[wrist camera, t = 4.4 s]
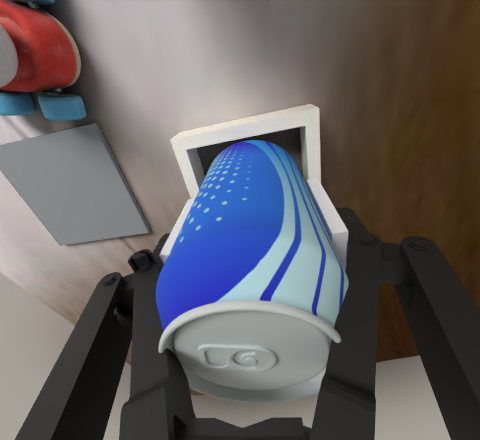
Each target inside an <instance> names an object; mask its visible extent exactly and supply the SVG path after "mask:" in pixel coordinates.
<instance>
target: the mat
mask: <svg viewBox="0 0 480 440" xmlns="http://www.w3.org/2000/svg"><path fill="white" fill-rule="evenodd" d="M0 170H1V172H2V173H3V174H4V175H5V177H6V178H7V179H8V180H9V182H10V183H11V184H12V186H13V187H14V188H15V189H16V191H17V192H18V193H19V194H20V196H21V197H22V198H23V200H24V201H25V202H26V203H27V205H28V206H29V207H30V208H31V210H32V211H33V212H34V214H35V215H36V216H37V217H38V219H39V220H40V221H41V222H42V224H43V225H44V226H45V228H46V229H47V230H48V231H49V233H50V234H51V235H52V236H53V238H54V239H55V240H56V242H57V243H58V244H59V245H60V246H61V245H68V244H75V243H82V242H89V241H96V240H103V239H110V238H116V237H123V236H130V235H137V234H144V233H149V232H150V230H151V229H150V227H149V225H148V223H147V221H146V219H145V217H144V215H143V213H142V211H141V209H140V207H139V205H138V203H137V201H136V199H135V197H134V195H133V193H132V191H131V189H130V187H129V185H128V183H127V181H126V179H125V177H124V175H123V173H122V171H121V169H120V167H119V165H118V163H117V161H116V159H115V157H114V155H113V153H112V151H111V149H110V147H109V145H108V143H107V141H106V139H105V137H104V135H103V133H102V131H101V129H100V127H99V125H98V123H97V122H96V123H92V124H88V125H84V126H80V127H75V128H71V129H67V130H63V131H59V132H54V133H50V134H46V135H42V136H38V137H33V138H29V139H25V140H21V141H16V142H12V143H8V144H4V145H0Z"/></svg>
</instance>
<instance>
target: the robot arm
mask: <svg viewBox="0 0 480 440" xmlns="http://www.w3.org/2000/svg"><path fill="white" fill-rule="evenodd" d="M307 188H308V190H309V192H310V195H311V197H312V199H313V201H314V203H315V206H316V208H317V210H318V212H319V215H320V217H321V219H322V221H323V223H324V226H325V228H326V230H327V232H328V235H329V237H330V239H331V241H332V243H333V246H334V248H335V250H336V252H337V255H338V257H339V259H340V261H341V263H342V266H343V268H344V270H345V272H346V275H347V277H348V281H349V285H348V289H347V291H346V294H345V297H344V300H343V303H342V305H341V308H340V311H339V313H338V316H337V318H336V321H335V325H334V329H335V330H336V331H337V332H338V334H339V335H340V338H341V342H339V343H336V342H334V341H333V339H332V340H331V345H330V350H329V356H328V361H327V366H326V370H325V374H324V376H323V378H322V381H321V386H320V390H319V395H318V400H317V405H316V410H315V415H314V420H313V425H312V429H311V428H309V427H306V426H303V423H302V418H270V419H267V420H265V421H262V422H259V423H256V424H253V425H250V426H247V427H244V428H240V427H237V426H234V425H232V424H229V423H226V422H224V421H221V420H218V419H215V418H196V417H195V414H194V411H193V406H192V401H191V395H190V389H189V383H188V379H187V376H186V374H185V372H184V369H183V367H182V365H181V363H180V361H179V360H178V358H177V357H176V355H175V354H174V353H173V351H171V350H170V349H168V348H166V349H165V350H164V352H162V353H159V342H160V339H161V336H162V334H163V332H164V331H163V327H162V324H161V320H160V316H159V312H158V308H157V304H156V286H157V281H158V278H159V275H160V272H161V270H162V268H163V266H164V264H165V262H166V259H167V257H168V255H169V253H170V251H171V249H172V247H173V245H174V242H175V240H176V238H177V236H178V234H179V232H180V230H181V228H182V226H183V223H184V221H185V219H186V217H187V215H188V213H189V211H190V209H191V206H192V204H193V202H194V200H195V199H189V200H188V201H187V203H186V205H185V207H184V209H183V211H182V212H181V214H180V216H179V218H178V220H177V222H176V224H175V226H174V228H173V230H172V232H171V233H167V234H165V235H164V236H163V237H162V238H161V239H160V241H159V243H158V245H157V246H156V249H155V250H154V251H153V253H151V251H150V250H148V249H145V250H140V251H138V252H136V253H135V254H133V255H132V256H131V257H130V258H129V260H128V263H129V264H130V266H131V268H132V269H133V271H134V273H133V274H130V275H127V276H125V277H122V275H121V274H120V273H118V272H114V273H111V274H108V275H107V276H105V277H104V278H102V279H101V280H100V282H99V283H98V284H97V286H96V288H95V290H94V292H93V294H92V296H91V298H90V299H89V301H88V303H87V305H86V307H85V309H84V311H83V313H82V315H81V316H80V318H79V320H78V322H77V324H76V326H75V328H74V330H73V332H72V333H71V335H70V337H69V339H68V341H67V343H66V345H65V346H64V348H63V350H62V352H61V354H60V356H59V358H58V360H57V362H56V363H55V365H54V367H53V369H52V371H51V373H50V375H49V376H48V378H47V380H46V382H45V384H44V386H43V388H42V390H41V391H40V394H39V396H38V397H37V399H36V401H35V403H34V405H33V407H32V408H31V410H30V412H29V414H28V416H27V418H26V420H25V422H24V423H23V425H22V427H21V429H20V431H19V433H18V435H17V437H16V439H15V440H103V437H104V434H105V430H106V427H107V423H108V420H109V416H110V412H111V409H112V406H113V402H114V399H115V395H116V392H117V388H118V385H119V381H120V378H121V374H122V370H123V367H124V363H125V360H126V357H127V353H128V350H129V346H130V343H131V339H132V357H131V387H130V398H129V401H127V402H126V403H124V405H123V407H122V410H121V420H120V435H119V440H374V435H375V412H376V411H375V410H376V399H375V374H376V353H377V332H378V311H379V290H380V282H382V283H388V284H394V287H395V289H396V292H397V295H398V297H399V300H400V303H401V306H402V308H403V311H404V314H405V316H406V319H407V322H408V325H409V327H410V330H411V333H412V335H413V338H414V341H415V343H416V346H417V349H418V352H419V354H420V357H421V359H422V362H423V365H424V368H425V370H426V373H427V376H428V378H429V381H430V383H431V387H432V389H433V392H434V395H435V397H436V400H437V403H438V406H439V408H440V411H441V414H442V416H443V419H444V422H445V424H446V427H447V430H448V433H449V435H450V438H451V440H480V309H479V308H478V306H477V305H476V303H475V302H474V300H473V299H472V297H471V296H470V294H469V293H468V292H467V290H466V289H465V287H464V286H463V284H462V283H461V281H460V280H459V278H458V277H457V275H456V274H455V272H454V271H453V269H452V268H451V266H450V265H449V263H448V262H447V260H446V259H445V257H444V256H443V254H442V253H441V251H440V250H439V249H438V247H437V246H436V244H435V243H433V242H432V241H431V240H429V239H427V238H423V237H418V236H410V237H406V238H404V239H403V240H402V241H401V244H395V243H385V242H381V240H380V239H379V238H378V237H377V236H375V235H373V234H369V232H368V231H367V229H366V228H365V227H364V225H363V224H362V222H361V221H360V219H359V218H358V217H357V215H356V214H355V212H354V211H353V210H351V209H349V208H348V207H345V208H338V209H335V207H334V206H333V204H332V202H331V201H330V199H329V197H328V195H327V194H326V192H325V190H324V189H323V187H322V185H321V183H320V182H319V180H318V178H316V179H310V180H307ZM114 310H115V312H114Z"/></svg>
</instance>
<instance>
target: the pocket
mask: <svg viewBox="0 0 480 440" xmlns="http://www.w3.org/2000/svg"><path fill="white" fill-rule="evenodd" d="M296 127H300V138H301V153H302V168H303V179H304V181H305V183H306V186H307V180H310V179H316V178H318V180H319V182H320V183H321V164H320V122H319V108H318V107H316V106H314V105H312V104H307V105H302V106H297V107H293V108H288V109H283V110H279V111H274V112H270V113H265V114H260V115H256V116H251V117H246V118H242V119H237V120H233V121H228V122H223V123H219V124H214V125H209V126H205V127H200V128H196V129H191V130H186V131H182V132H180V133H178V134H177V135H176V136H174V137H173V138H172V139H170V141H171V144H172V147H173V149H174V152H175V155H176V158H177V161H178V163H179V166H180V169H181V172H182V175H183V177H184V180H185V183H186V186H187V189H188V191H189V194H190V197H191V199H195V198H196V196H197V194H198V192H199V189H200V187H201V185H202V183H203V181H204V179H205V174H204V171H203V168H202V164H201V161H200V158H199V155H198V151H197V147H202V146H207V145H212V144H217V143H222V142H227V141H232V140H237V139H242V138H247V137H252V136H256V135H261V134H266V133H271V132H276V131H281V130H286V129H291V128H296Z"/></svg>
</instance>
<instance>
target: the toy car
mask: <svg viewBox="0 0 480 440" xmlns="http://www.w3.org/2000/svg"><path fill="white" fill-rule="evenodd" d="M54 2H55V0H0V115H28V114H32V113H33V112H34V111H35V108H34V105H33V102H32V100H31V97H30V95H29V93H27V92H43V94H40V95H39V96H38V102H39V104H40V107H41V109H42V112H43V115H44V116H45V117H46V118H47V119H49V120H54V121H69V120H79V119H83V118H85V117H86V110H85V106H84V103H83V100H82V98H81V97H80V96H78V95H75V94H55V93H53V92H52V91H54V90H57V92H61V89H62V88H66V87H68V86H71V85H72V84H74V83H75V82H76V81H77V79H78V77H79V75H80V71H81V59H80V54H79V51H78V48H77V45H76V43H75V41H74V39H73V37H72V36H71V34H70V33H69V31H68V30H67V29H66V28H65V27H64V25H63V24H62V23H60V22H59V21H58V20H57V19H56V18H55V17H53V16H52V15H50V14H49V13H47V12H45V11H44V10H39V9H37V8H36V7H35V6H34V5H33V4H32V3H36V4H46V5H48V4H53V3H54Z"/></svg>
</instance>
